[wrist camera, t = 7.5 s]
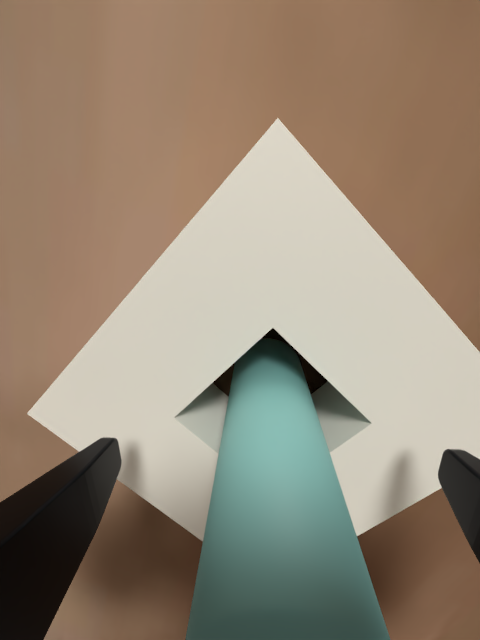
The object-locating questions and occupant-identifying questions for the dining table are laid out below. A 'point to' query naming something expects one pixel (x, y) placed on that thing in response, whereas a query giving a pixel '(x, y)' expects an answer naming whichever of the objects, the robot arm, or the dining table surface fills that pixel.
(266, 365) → the peg
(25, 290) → the dining table surface
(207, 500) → the socket block
